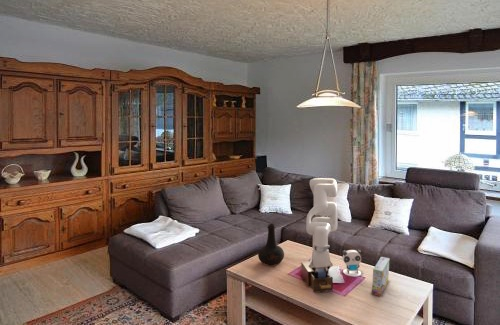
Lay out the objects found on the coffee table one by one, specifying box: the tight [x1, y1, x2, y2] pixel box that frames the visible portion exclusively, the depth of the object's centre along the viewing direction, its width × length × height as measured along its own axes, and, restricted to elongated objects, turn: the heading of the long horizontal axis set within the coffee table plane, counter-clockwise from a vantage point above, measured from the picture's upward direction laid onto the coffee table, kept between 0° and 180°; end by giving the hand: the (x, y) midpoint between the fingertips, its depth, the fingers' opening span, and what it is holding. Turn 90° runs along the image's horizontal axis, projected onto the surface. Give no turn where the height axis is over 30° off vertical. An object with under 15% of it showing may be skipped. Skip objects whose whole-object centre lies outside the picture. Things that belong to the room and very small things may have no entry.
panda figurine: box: [341, 249, 363, 278], centre depth 225 cm, size 12×11×15 cm
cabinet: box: [300, 260, 330, 288], centre depth 216 cm, size 15×13×10 cm
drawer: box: [310, 273, 334, 293], centre depth 205 cm, size 18×11×8 cm, turn 8°
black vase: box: [257, 223, 285, 267], centre depth 241 cm, size 18×18×28 cm
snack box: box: [371, 256, 391, 297], centre depth 205 cm, size 21×6×15 cm, turn 148°
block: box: [317, 269, 326, 278], centre depth 204 cm, size 4×4×4 cm
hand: (320, 277), depth 204 cm, fingers closed on block, 4 cm apart
